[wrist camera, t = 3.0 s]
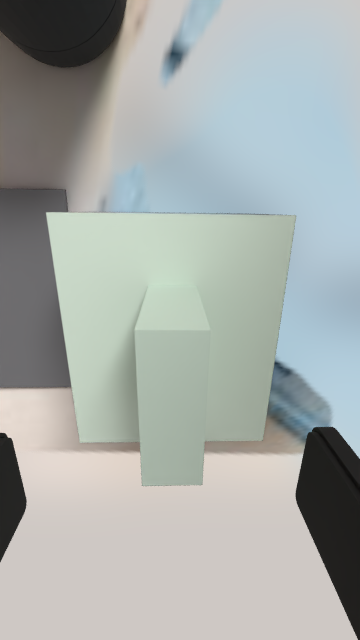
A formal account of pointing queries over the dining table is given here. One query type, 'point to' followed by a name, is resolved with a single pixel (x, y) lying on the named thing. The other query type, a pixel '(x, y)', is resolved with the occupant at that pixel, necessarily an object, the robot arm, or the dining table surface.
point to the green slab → (170, 329)
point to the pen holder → (61, 28)
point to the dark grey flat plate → (30, 292)
